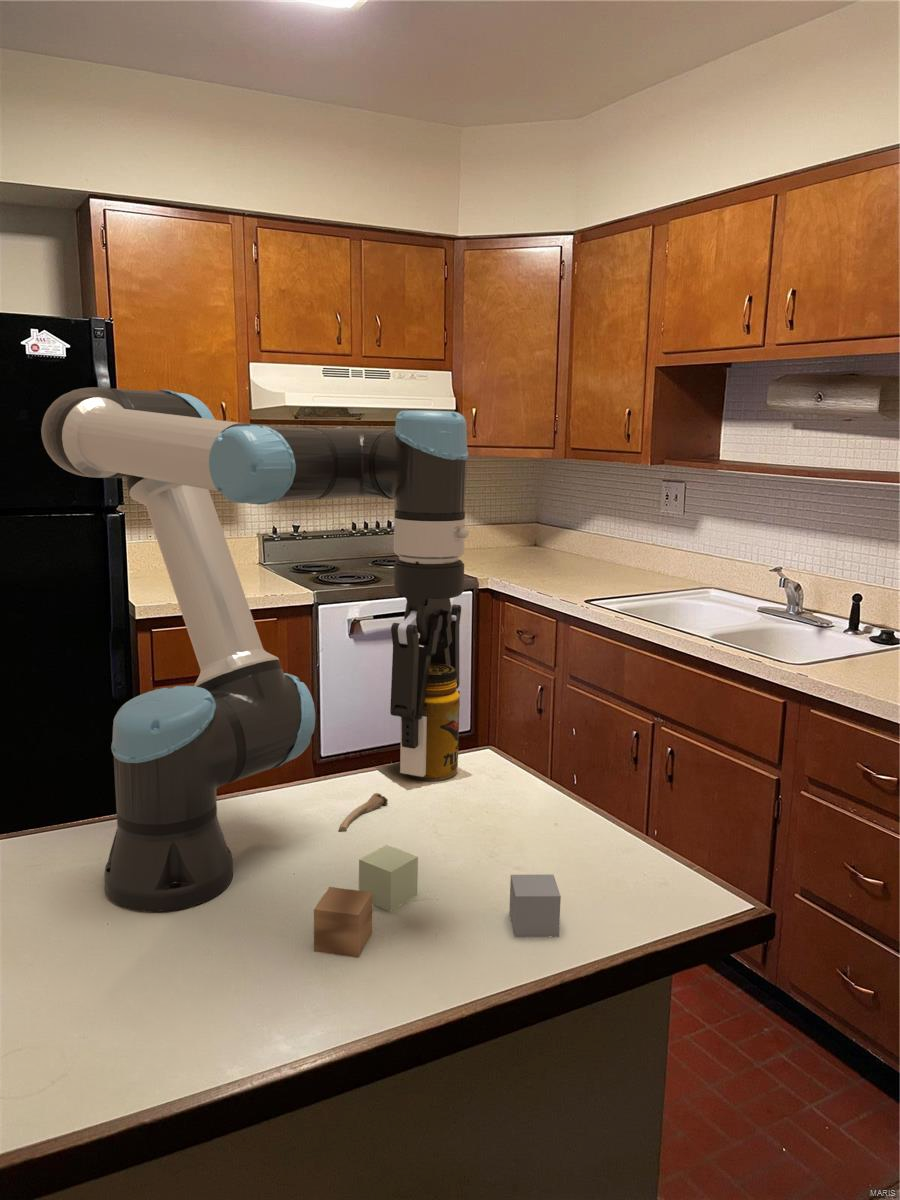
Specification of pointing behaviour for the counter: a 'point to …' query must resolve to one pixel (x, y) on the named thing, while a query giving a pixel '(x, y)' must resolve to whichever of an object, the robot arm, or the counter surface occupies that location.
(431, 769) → the condiment
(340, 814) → the counter surface
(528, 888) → the slate cube
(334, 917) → the walnut cube
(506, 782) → the counter surface
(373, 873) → the sage cube
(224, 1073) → the counter surface
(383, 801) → the bone
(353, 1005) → the counter surface
